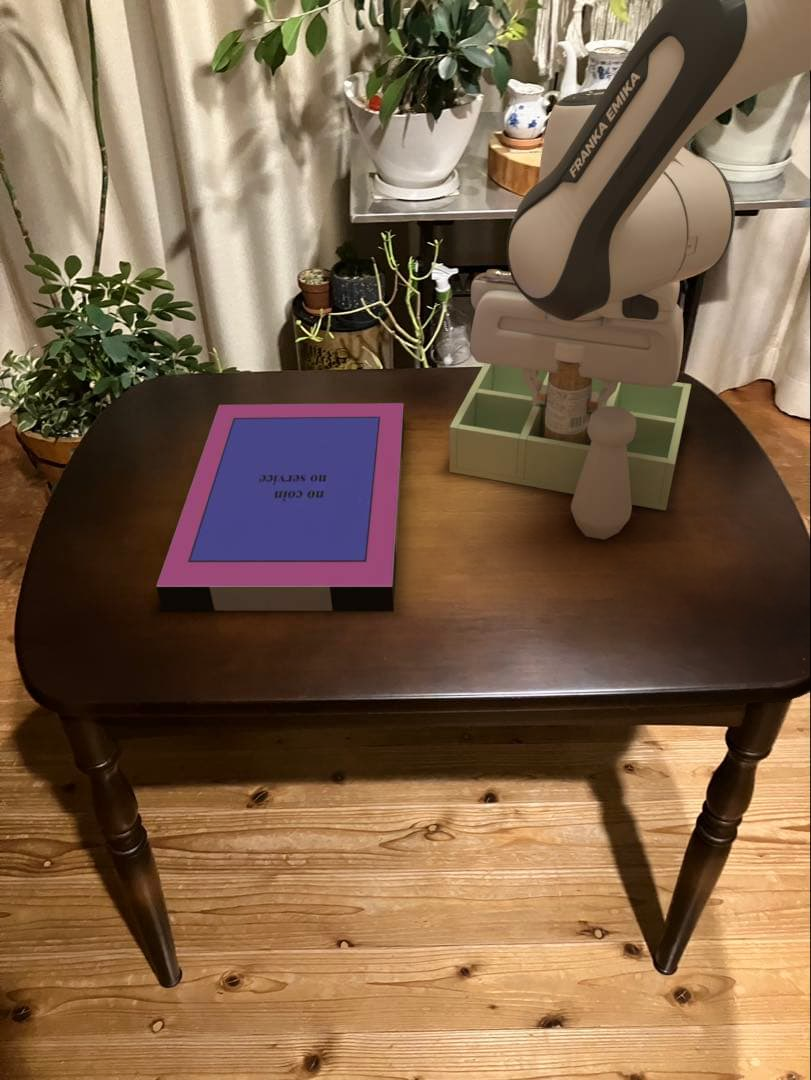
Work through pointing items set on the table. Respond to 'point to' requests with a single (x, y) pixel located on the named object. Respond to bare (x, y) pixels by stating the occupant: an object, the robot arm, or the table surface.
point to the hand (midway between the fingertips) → (568, 408)
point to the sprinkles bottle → (567, 396)
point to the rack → (530, 459)
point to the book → (291, 511)
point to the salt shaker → (605, 475)
